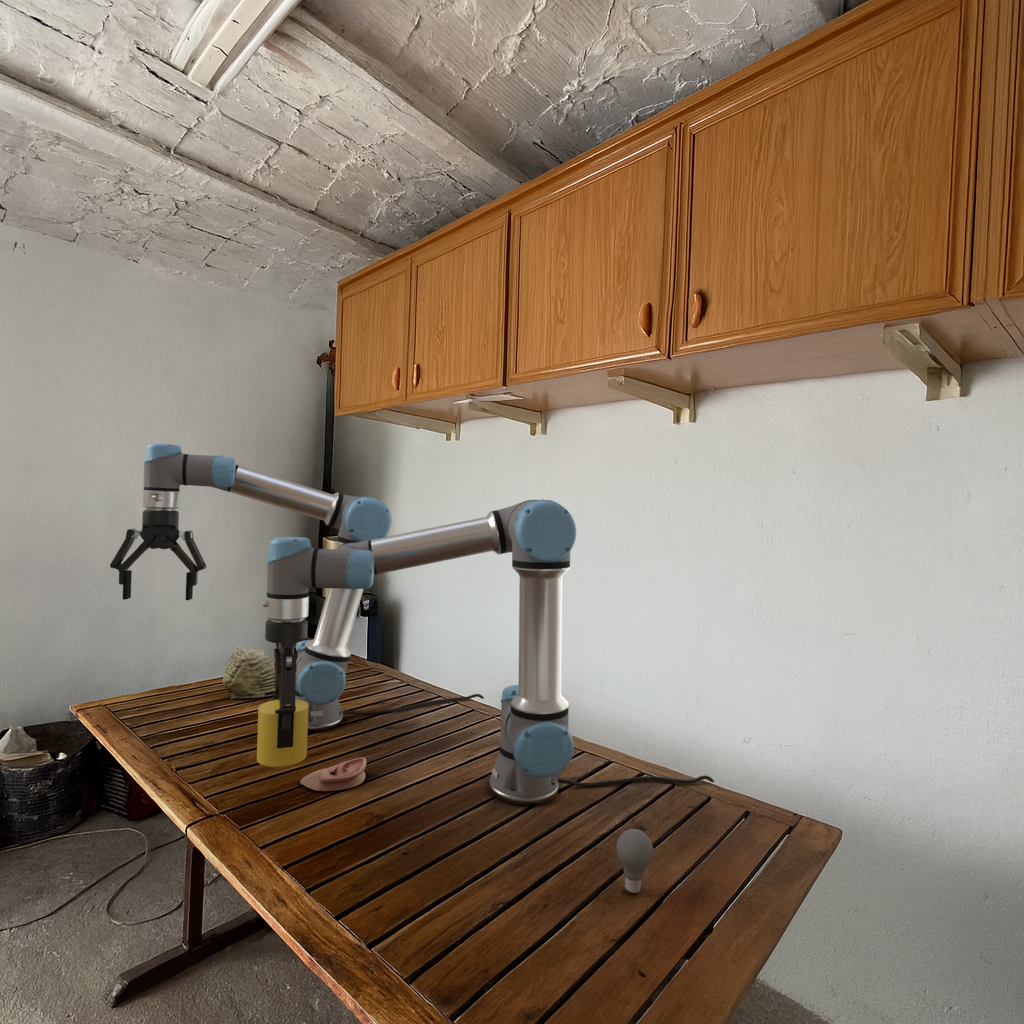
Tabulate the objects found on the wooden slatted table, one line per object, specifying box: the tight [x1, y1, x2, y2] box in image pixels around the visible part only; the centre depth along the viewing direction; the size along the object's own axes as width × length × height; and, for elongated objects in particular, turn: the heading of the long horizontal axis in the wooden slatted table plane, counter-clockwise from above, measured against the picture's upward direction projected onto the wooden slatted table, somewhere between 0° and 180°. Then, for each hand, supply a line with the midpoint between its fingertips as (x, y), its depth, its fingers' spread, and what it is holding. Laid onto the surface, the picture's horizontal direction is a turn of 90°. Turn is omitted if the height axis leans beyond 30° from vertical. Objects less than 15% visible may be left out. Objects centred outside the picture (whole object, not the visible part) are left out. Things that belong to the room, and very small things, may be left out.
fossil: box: [222, 646, 276, 699], centre depth 198 cm, size 9×18×15 cm, turn 132°
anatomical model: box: [299, 756, 367, 792], centre depth 141 cm, size 13×4×12 cm
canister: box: [256, 699, 309, 768], centre depth 120 cm, size 9×9×10 cm
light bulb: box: [615, 828, 654, 894], centre depth 106 cm, size 6×6×10 cm
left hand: (158, 599), depth 150 cm, fingers open, 13 cm apart
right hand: (282, 737), depth 120 cm, fingers closed on canister, 9 cm apart
